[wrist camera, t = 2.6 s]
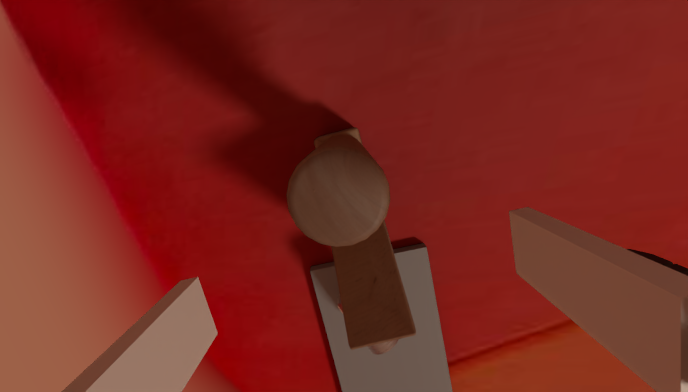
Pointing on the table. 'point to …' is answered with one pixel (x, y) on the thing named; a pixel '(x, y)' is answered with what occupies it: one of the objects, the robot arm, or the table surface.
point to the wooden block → (353, 234)
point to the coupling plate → (409, 353)
